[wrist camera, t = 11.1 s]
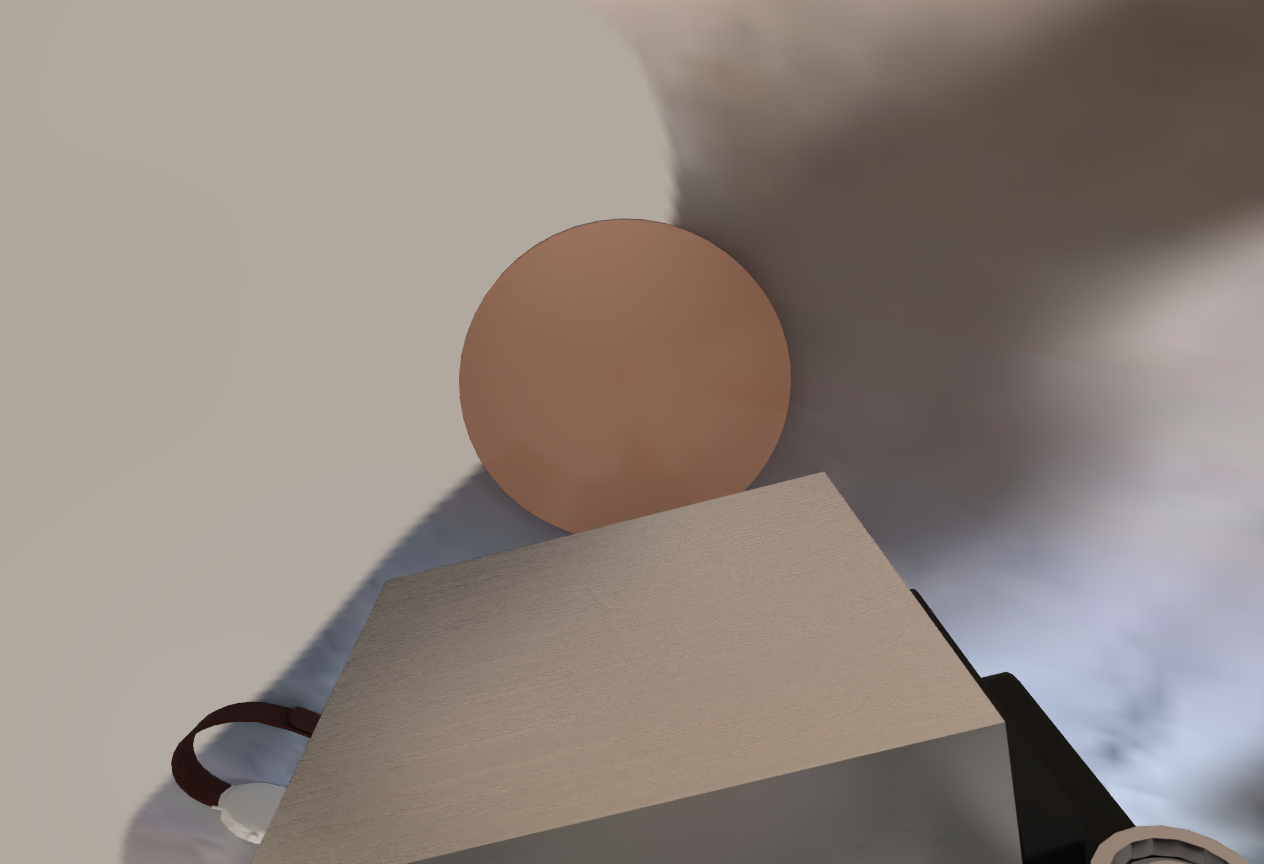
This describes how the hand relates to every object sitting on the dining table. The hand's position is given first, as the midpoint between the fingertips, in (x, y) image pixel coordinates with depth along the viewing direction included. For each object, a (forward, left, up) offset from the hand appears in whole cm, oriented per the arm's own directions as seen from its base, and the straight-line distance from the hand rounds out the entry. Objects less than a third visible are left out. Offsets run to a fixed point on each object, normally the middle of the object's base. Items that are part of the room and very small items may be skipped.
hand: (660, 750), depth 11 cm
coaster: (0, 0, -18) cm, 18 cm away
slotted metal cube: (0, 0, -1) cm, 1 cm away
